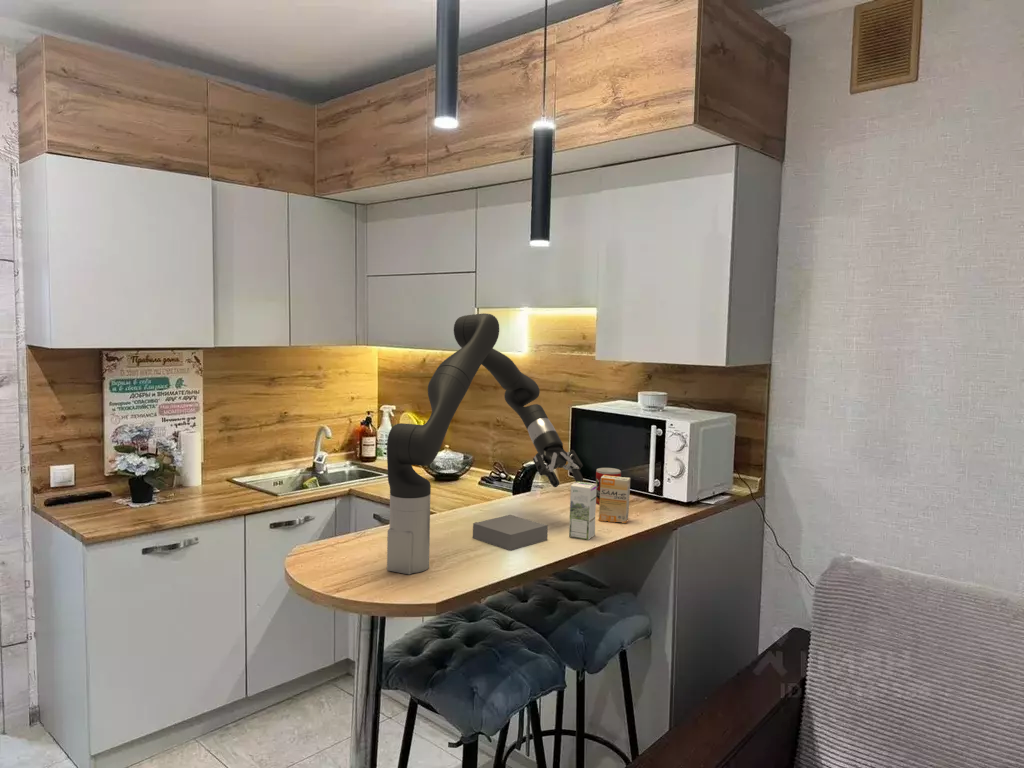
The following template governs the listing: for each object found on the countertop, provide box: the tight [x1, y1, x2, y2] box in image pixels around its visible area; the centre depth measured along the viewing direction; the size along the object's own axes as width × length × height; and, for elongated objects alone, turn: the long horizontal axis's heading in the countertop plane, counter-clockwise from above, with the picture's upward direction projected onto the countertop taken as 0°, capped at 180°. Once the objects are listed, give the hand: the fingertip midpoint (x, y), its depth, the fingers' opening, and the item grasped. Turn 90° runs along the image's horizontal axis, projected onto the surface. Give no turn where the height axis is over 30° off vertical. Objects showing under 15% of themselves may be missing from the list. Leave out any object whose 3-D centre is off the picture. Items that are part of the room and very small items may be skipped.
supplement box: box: [598, 475, 631, 524], centre depth 210 cm, size 8×5×13 cm, turn 71°
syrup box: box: [568, 481, 597, 541], centre depth 193 cm, size 6×6×14 cm
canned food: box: [595, 467, 622, 505], centre depth 232 cm, size 8×8×11 cm
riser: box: [472, 514, 549, 551], centre depth 189 cm, size 14×14×4 cm
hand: (569, 484), depth 198 cm, fingers open, 8 cm apart
